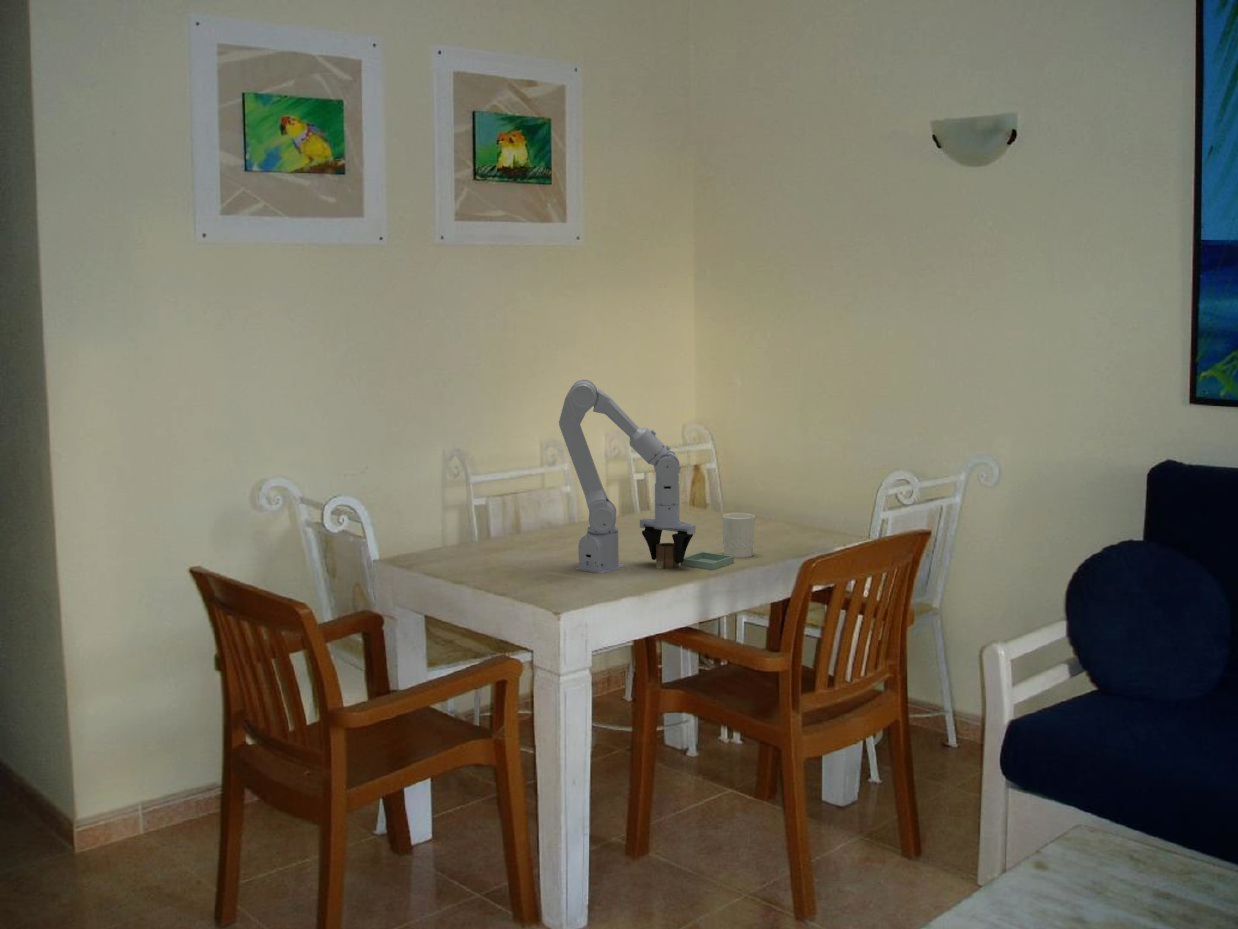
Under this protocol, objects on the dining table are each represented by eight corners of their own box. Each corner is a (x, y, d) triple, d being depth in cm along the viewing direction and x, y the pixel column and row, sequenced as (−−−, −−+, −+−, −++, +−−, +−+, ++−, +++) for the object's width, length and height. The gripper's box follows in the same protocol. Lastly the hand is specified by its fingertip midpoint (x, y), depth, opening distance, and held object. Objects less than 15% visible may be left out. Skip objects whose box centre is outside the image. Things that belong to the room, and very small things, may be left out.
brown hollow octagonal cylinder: (664, 562, 303) (664, 542, 303) (682, 565, 300) (682, 544, 300) (650, 567, 299) (649, 546, 298) (667, 570, 296) (667, 549, 295)
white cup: (760, 554, 313) (760, 514, 311) (746, 561, 306) (746, 519, 305) (730, 551, 317) (730, 511, 315) (716, 557, 310) (716, 517, 309)
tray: (712, 571, 295) (712, 563, 295) (680, 566, 301) (680, 558, 300) (733, 564, 302) (733, 556, 302) (701, 559, 308) (701, 551, 307)
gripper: (702, 504, 296) (702, 561, 298) (651, 498, 305) (652, 554, 307) (685, 508, 291) (685, 567, 293) (634, 502, 300) (634, 559, 302)
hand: (667, 561), depth 300 cm, fingers open, 6 cm apart
